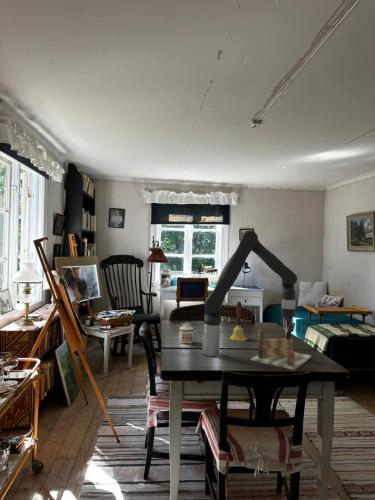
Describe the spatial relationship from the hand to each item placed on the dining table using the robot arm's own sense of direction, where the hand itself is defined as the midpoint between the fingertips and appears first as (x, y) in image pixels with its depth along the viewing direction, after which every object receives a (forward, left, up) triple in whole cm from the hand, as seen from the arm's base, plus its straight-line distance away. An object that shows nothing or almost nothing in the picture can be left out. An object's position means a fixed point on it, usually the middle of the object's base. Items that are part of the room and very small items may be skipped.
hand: (287, 337), depth 195 cm
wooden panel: (-4, -4, -10) cm, 11 cm away
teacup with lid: (-60, -11, -11) cm, 62 cm away
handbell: (-40, +19, -11) cm, 46 cm away
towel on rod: (-1, -4, -11) cm, 12 cm away
